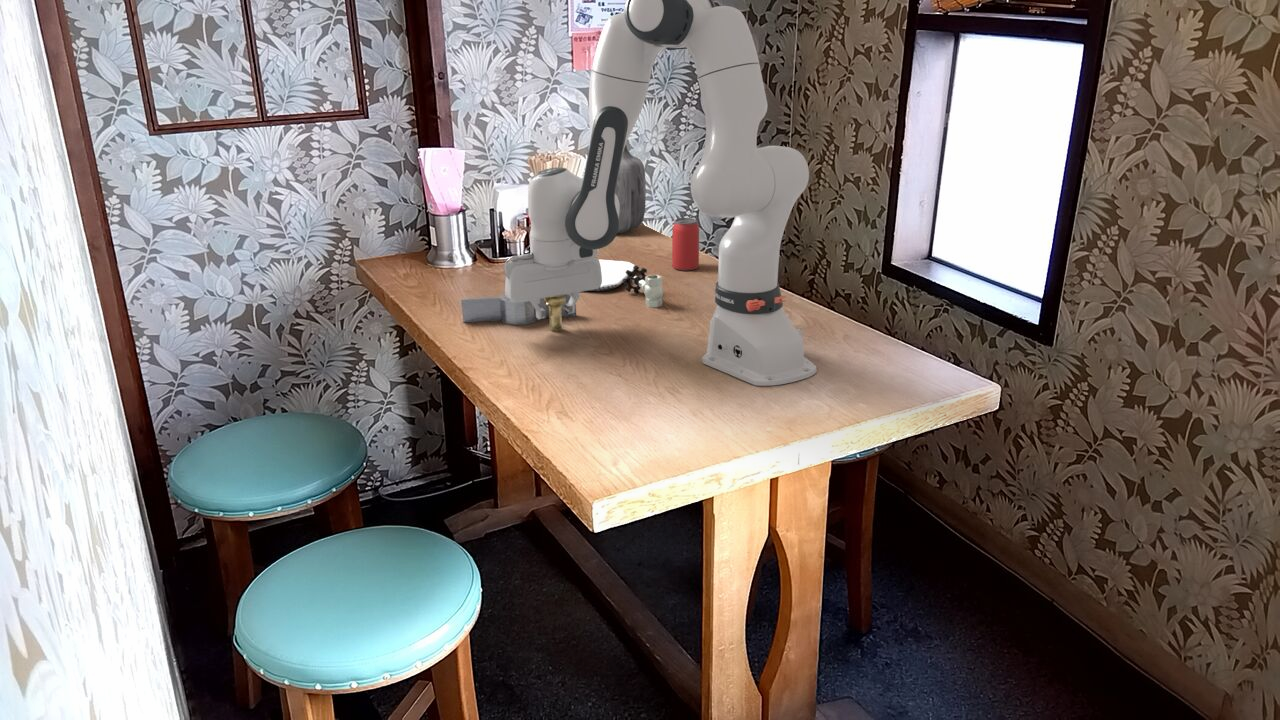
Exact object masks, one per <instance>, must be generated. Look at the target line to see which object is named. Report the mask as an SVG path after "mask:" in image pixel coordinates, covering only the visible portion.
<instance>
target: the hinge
mask: <svg viewBox="0 0 1280 720" xmlns="http://www.w3.org/2000/svg"><path fill="white" fill-rule="evenodd" d="M564 295H565V298H566V302H565V303H564V304H562V305H561V308H562V318H568V317H569V318H570V317H577V303H576V304H575V313H570V314H567V313H566V312H565V304H567V303H568V302H569V300H570V298H571V295H569V294H564ZM460 300H461V302H460V303H461V312H462V323H477V322H479V323H480V322H495V321H496V322H497V321H501V322H502V323H504V324H506V325H512V326H524V325H526V326H527V325H529V324H533V323H535V322H537V321H538V320H540V319H538V318H537V317H536V309H535V308H534V307H533V305H532V304H531V303H530V300H529V301H523V302H517V303H514V302H512V301H511V300H509V299H508V298H507V297H506V294H505V292H504V293H502V294H500V295H499V296H487V297H486V296H484V297H482V296H481V297H470V298H469V297H466V298H465V297H464V298H461V299H460ZM537 304H538V303H537ZM538 306H539V307H540V308H543V309H544V310H546V314H545V315H546V318H545V319H547V318H549V305H547V304H545V303H544V298H541V299H540V303H539V304H538Z"/></svg>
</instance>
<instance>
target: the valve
mask: <svg viewBox="0 0 1280 720" xmlns="http://www.w3.org/2000/svg"><path fill="white" fill-rule="evenodd" d="M634 265H635V266H634V267H633V269H634V270H633V271H632V272H631V271H629V270H626V272H625V273H626V274H627V275H628V277H627V278H626V279H623V280H622V283H623V284H625V285H627V286H626V287H625V290H626V292H628V293H631V292H632V289H633V294H636V295H638V294H639V293H640V290H641V292H642V293H644V295H645V299H644V300H645V301H644V302H645V306H646V307H648V308H660V307H661V306H663V294H664V288H663V287H664V286H663V277H662V276H661V275H659V274H648V275H646V274H645V273H647V271H648V270H647V268H645V267H642V268H640V267H639V266H638V265H636V264H634ZM635 274H640V275H641V276H640V275H639V276H637V275H635ZM633 275H635V276H633ZM631 280H632V283H633V284H634V285H636V286H634V285H632V284H631Z"/></svg>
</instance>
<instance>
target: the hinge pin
mask: <svg viewBox="0 0 1280 720" xmlns="http://www.w3.org/2000/svg"><path fill="white" fill-rule="evenodd" d="M565 302H566V298H565V295H558V296H552V297H547V298H544V303H545V304H547V305H549V331H551V332H553V333H554V332H555V333H557V332H562V330H563V317H562V308H561V305H562V304H564V303H565Z"/></svg>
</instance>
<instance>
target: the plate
mask: <svg viewBox="0 0 1280 720" xmlns="http://www.w3.org/2000/svg"><path fill="white" fill-rule="evenodd" d="M598 260H599V262H600V265H601V272H602V284H601V286H600V287H599V288H598V289H593V290H591V291H593V292H594V291H595V292H602V291H604V292H605V291H608V290H609V291H610V290H614V289H616V288H617V287H619V286H620V285H621V284H622V283H623V282H622V280H623V279H627V277H628V275H627V274H626V273H625V272H626V270H629V271H631V272H632V271H633V270H634V269H633V267H634V266H635V265H636V264H633V263H632V262H629V261H625V260H624V261H623V260H611V259H601V258H600V259H599V258H598Z"/></svg>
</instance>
